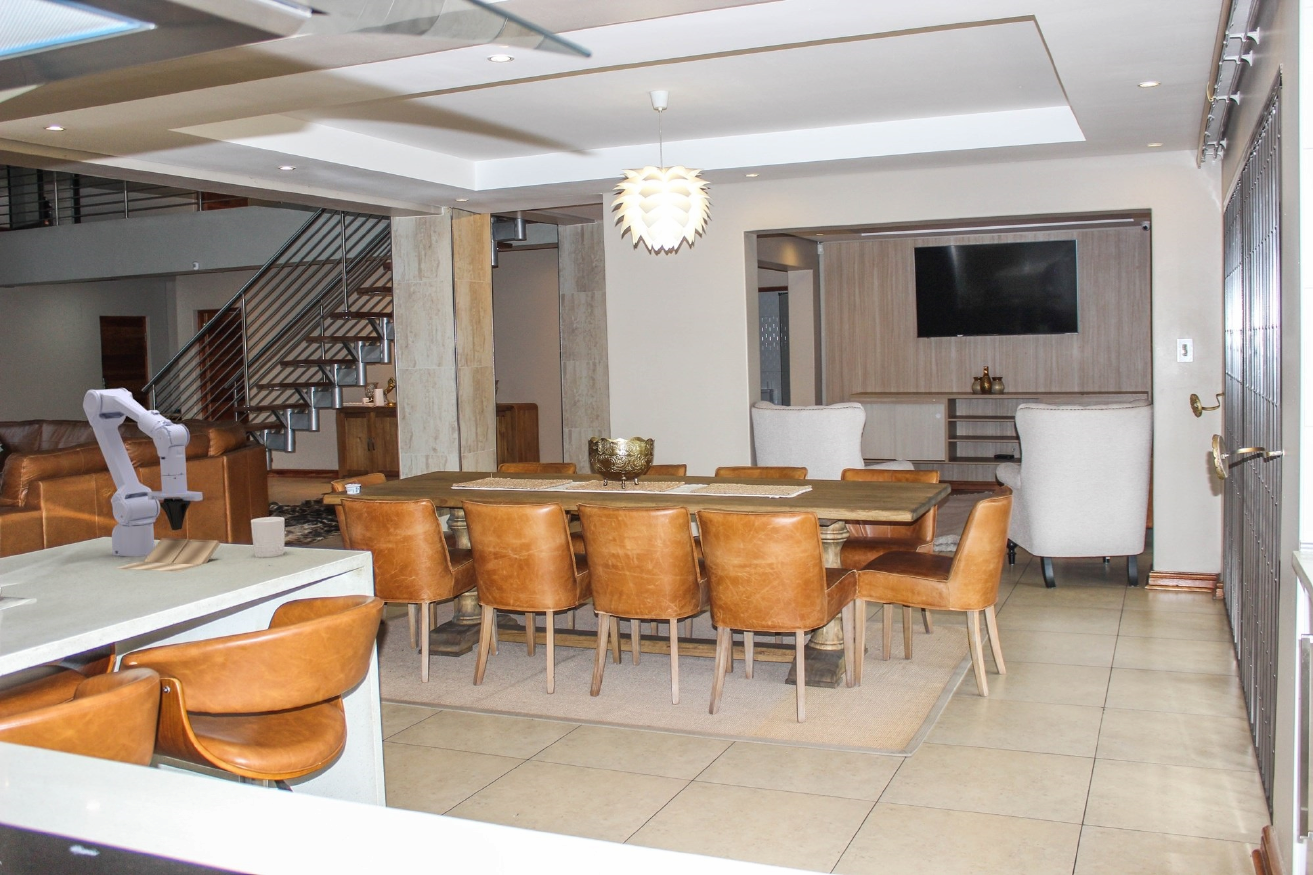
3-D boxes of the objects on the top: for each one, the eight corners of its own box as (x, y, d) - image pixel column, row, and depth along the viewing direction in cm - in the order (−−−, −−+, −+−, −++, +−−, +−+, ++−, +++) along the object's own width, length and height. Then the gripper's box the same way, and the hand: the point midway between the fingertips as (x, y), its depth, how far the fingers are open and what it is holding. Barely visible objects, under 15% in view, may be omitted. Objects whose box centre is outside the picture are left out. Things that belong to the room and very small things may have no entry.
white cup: (291, 556, 286) (289, 516, 285) (278, 562, 278) (276, 521, 277) (261, 556, 287) (259, 516, 286) (247, 562, 279) (245, 521, 278)
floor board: (115, 573, 268) (114, 568, 268) (139, 566, 276) (139, 561, 276) (178, 576, 263) (178, 571, 263) (201, 569, 270) (201, 564, 270)
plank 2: (175, 566, 274) (172, 562, 273) (192, 542, 280) (190, 539, 279) (202, 567, 271) (200, 564, 271) (219, 544, 277) (217, 540, 277)
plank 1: (146, 565, 276) (143, 561, 276) (163, 541, 282) (161, 538, 281) (173, 566, 274) (170, 562, 273) (190, 542, 280) (188, 539, 279)
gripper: (137, 475, 276) (140, 531, 277) (187, 476, 271) (190, 532, 273) (158, 472, 282) (161, 526, 284) (207, 473, 278) (210, 528, 279)
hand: (176, 529), depth 279 cm, fingers closed
